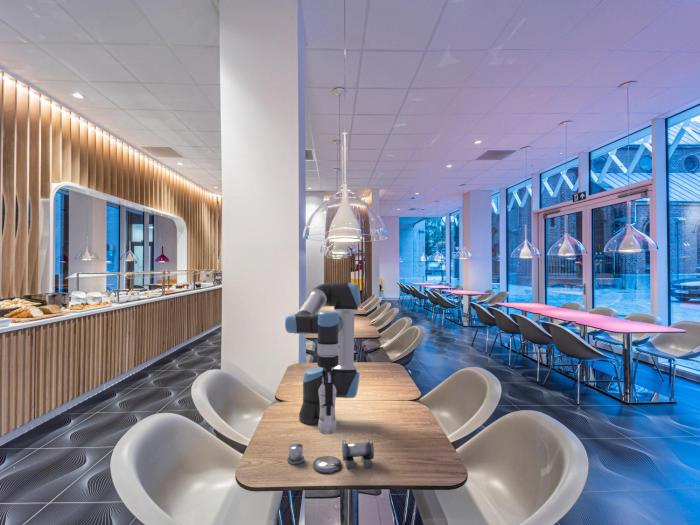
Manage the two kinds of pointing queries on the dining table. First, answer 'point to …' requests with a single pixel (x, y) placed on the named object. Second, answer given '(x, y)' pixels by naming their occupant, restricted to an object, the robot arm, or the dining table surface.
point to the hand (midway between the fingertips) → (327, 420)
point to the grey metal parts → (346, 457)
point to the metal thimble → (295, 454)
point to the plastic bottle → (323, 428)
